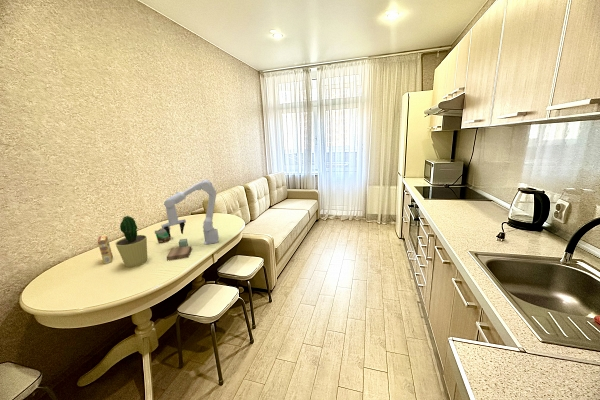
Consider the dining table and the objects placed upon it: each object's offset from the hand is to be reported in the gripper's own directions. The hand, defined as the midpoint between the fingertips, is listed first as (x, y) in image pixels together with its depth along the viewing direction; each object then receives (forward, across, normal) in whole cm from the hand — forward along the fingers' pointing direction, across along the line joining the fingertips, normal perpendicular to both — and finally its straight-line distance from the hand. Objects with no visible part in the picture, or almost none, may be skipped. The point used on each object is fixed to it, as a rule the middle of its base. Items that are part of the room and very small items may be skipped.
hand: (176, 235), depth 162 cm
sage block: (+9, -3, +3) cm, 10 cm away
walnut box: (+9, +2, +13) cm, 17 cm away
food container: (+9, +3, -19) cm, 22 cm away
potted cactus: (+9, +25, +4) cm, 27 cm away
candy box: (+9, +38, -12) cm, 41 cm away
